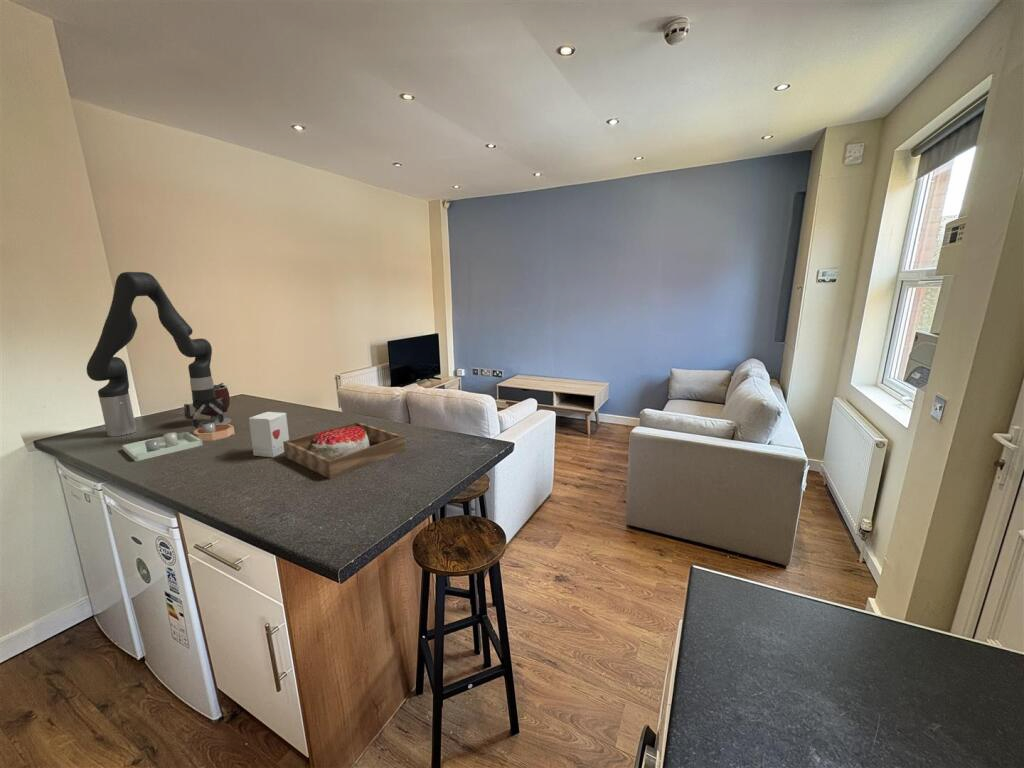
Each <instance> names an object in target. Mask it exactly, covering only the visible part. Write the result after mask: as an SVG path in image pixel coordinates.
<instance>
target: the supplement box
mask: <svg viewBox="0 0 1024 768" xmlns="http://www.w3.org/2000/svg"><path fill="white" fill-rule="evenodd" d="M248 421H249V422H248V423H249V429H250V431H249V432H250V437H251V445H252V453H253V456H255V457H256V456H257V457H264V458H265V457H267V458H275V457H277V456H279V455H281V454H283V453H285V452H284V445H283V442H284V441H287V440H290V435H289V426H288V418H287V412H278V411H277V412H276V411H275V412H274V411H266V412H262V413H260V414H257V415H253V416H251V417H249V418H248Z"/></svg>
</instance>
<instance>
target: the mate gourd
mask: <svg viewBox="0 0 1024 768" xmlns="http://www.w3.org/2000/svg"><path fill="white" fill-rule="evenodd" d="M214 390H215V396H216V399H220V398H224V399H225V401H226V405H227V409H229V407H230V402H231V397H230V392H229V389H228V387H227V385H225V384H224V382H221V383H218V384H214ZM191 398H192V401H193V397H192V396H191ZM216 407H217V408H218V409H220V410H222V407H221V404H220V403H219V402H218V403H217V404H216ZM195 409H196V408H195V407H194V410H195ZM196 411H197V410H196ZM199 415H201V416H202V415H203V416H208V417H210V419H207V420H206V419H205V420H202V421H201V422H198V427H200V428H201V427H203V424H206V423H214V425H215V424H230V423H231V422H232V419H231V418H229V417H223V418H224V421H222V423H219V420H218V413H217V412H216V411H215V410H212V411H206V412H201V413H200V414H199Z"/></svg>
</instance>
